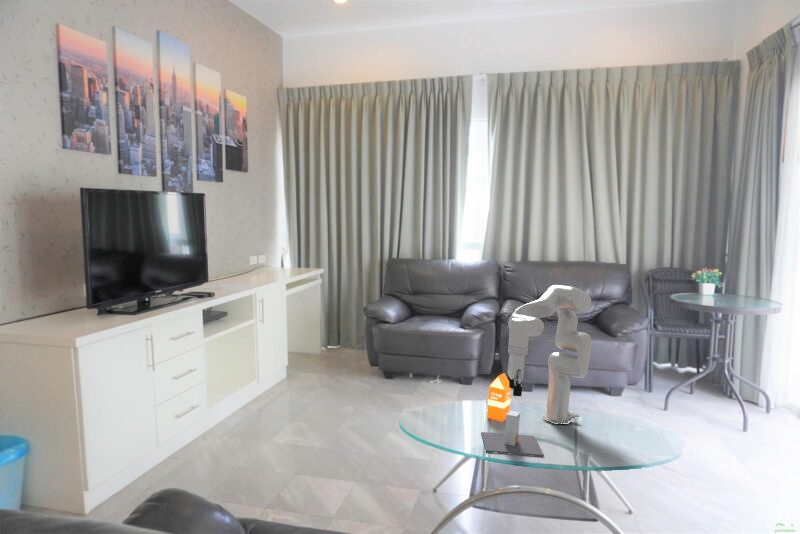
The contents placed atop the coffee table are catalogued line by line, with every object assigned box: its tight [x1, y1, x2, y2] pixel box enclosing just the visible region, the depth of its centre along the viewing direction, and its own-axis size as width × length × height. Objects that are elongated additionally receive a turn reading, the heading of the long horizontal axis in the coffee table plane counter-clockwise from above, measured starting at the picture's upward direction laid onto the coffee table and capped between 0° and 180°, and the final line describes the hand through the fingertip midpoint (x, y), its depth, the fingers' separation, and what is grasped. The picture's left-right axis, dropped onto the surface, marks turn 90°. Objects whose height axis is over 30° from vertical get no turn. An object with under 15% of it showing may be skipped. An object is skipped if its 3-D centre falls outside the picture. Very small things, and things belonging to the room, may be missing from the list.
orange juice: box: [486, 372, 512, 422], centre depth 231 cm, size 8×9×20 cm
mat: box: [480, 431, 545, 457], centre depth 201 cm, size 22×18×1 cm
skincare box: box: [504, 410, 521, 446], centre depth 201 cm, size 6×4×12 cm
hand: (515, 391), depth 200 cm, fingers open, 9 cm apart
